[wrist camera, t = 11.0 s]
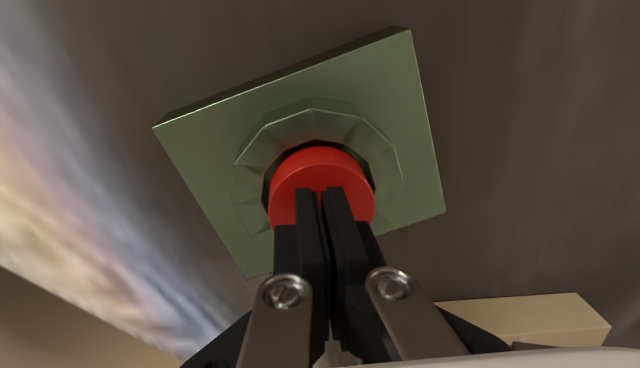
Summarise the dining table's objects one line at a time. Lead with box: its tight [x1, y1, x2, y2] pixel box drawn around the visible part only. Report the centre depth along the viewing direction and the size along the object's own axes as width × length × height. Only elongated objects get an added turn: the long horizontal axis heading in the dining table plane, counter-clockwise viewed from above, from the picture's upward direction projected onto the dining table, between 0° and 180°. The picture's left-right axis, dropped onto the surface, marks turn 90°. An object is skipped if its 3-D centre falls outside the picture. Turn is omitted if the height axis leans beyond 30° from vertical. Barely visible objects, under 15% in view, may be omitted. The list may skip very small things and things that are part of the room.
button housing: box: [152, 26, 446, 280], centre depth 15 cm, size 11×9×4 cm
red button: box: [268, 146, 375, 231], centre depth 13 cm, size 4×4×2 cm
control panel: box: [433, 292, 612, 347], centre depth 24 cm, size 12×10×3 cm
